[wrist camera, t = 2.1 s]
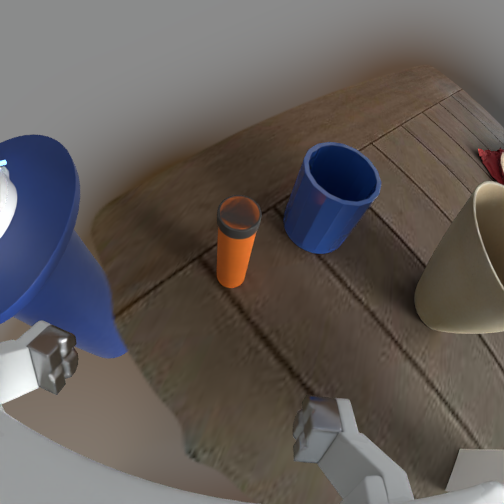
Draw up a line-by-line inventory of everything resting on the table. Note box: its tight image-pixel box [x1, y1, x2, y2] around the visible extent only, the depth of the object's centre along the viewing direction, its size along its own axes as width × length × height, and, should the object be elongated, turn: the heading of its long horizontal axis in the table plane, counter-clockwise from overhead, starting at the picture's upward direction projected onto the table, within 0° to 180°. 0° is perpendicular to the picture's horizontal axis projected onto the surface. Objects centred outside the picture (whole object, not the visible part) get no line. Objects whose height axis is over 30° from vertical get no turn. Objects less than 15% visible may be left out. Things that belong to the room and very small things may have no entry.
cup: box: [283, 142, 381, 254], centre depth 33 cm, size 8×8×10 cm
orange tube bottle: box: [217, 195, 262, 288], centre depth 28 cm, size 3×3×12 cm
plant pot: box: [414, 181, 504, 334], centre depth 27 cm, size 15×15×16 cm
